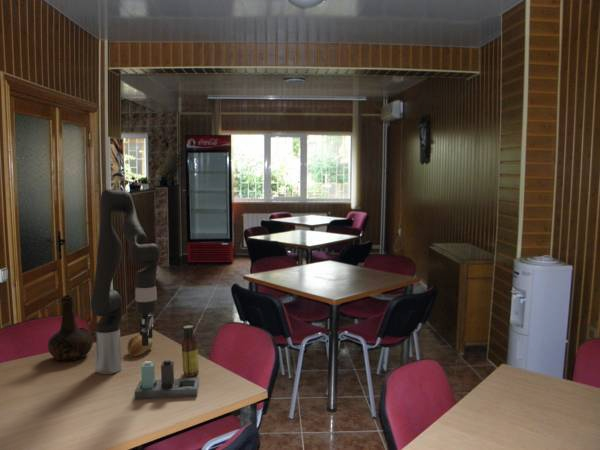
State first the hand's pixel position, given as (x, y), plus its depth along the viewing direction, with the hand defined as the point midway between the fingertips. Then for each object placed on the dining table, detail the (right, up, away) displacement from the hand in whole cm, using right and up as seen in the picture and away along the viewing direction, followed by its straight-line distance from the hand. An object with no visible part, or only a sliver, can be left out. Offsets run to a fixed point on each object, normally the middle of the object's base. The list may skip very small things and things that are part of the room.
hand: (147, 341), depth 185 cm
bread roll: (-17, -16, +45) cm, 51 cm away
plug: (0, -20, +2) cm, 20 cm away
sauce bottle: (+11, -18, +20) cm, 29 cm away
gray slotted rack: (+7, -19, +3) cm, 21 cm away
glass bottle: (-46, -16, +39) cm, 62 cm away
